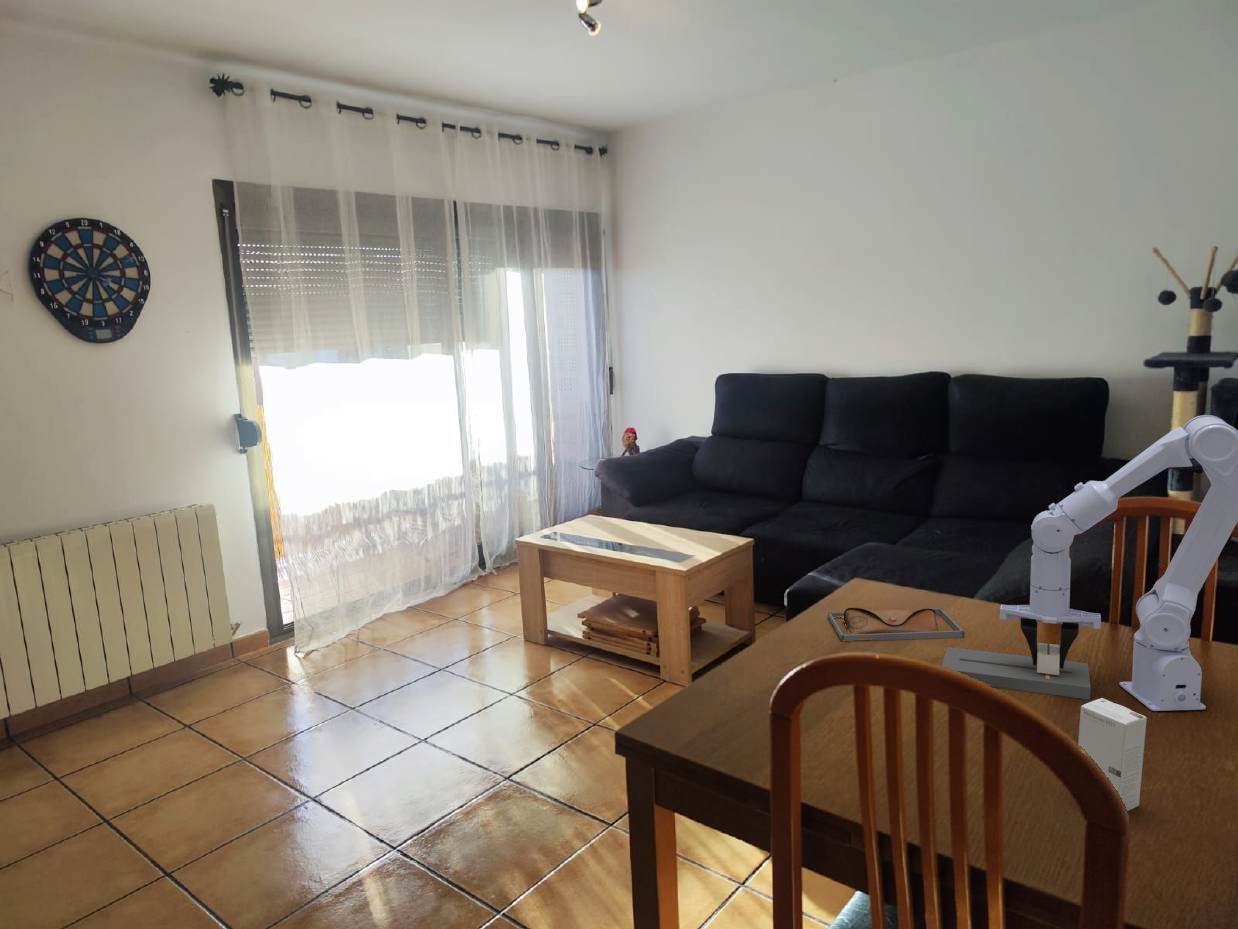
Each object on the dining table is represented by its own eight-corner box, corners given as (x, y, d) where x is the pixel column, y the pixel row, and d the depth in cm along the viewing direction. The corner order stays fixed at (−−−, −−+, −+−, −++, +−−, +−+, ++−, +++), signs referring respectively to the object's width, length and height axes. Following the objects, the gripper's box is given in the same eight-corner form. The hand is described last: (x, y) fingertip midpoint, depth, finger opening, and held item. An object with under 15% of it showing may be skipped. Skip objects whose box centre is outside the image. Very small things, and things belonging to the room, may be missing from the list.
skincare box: (1073, 793, 107) (1076, 704, 105) (1096, 783, 109) (1100, 696, 107) (1119, 817, 101) (1123, 724, 99) (1143, 807, 103) (1148, 715, 101)
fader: (1058, 663, 139) (1059, 644, 139) (1059, 675, 135) (1059, 655, 134) (1037, 660, 141) (1037, 642, 140) (1036, 672, 136) (1037, 653, 136)
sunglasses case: (847, 637, 161) (845, 603, 164) (844, 643, 168) (842, 610, 170) (945, 638, 158) (941, 603, 161) (938, 644, 165) (935, 610, 167)
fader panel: (1087, 674, 140) (1087, 663, 140) (1090, 699, 131) (1090, 687, 131) (947, 657, 150) (947, 646, 149) (940, 680, 141) (940, 668, 141)
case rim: (964, 637, 158) (964, 631, 158) (841, 641, 160) (841, 635, 160) (941, 613, 171) (941, 608, 171) (828, 618, 173) (828, 612, 172)
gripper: (999, 588, 135) (998, 667, 137) (1103, 597, 129) (1099, 680, 131) (1001, 575, 141) (1000, 651, 144) (1100, 583, 135) (1097, 663, 137)
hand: (1047, 664), depth 138 cm, fingers closed on fader, 3 cm apart
